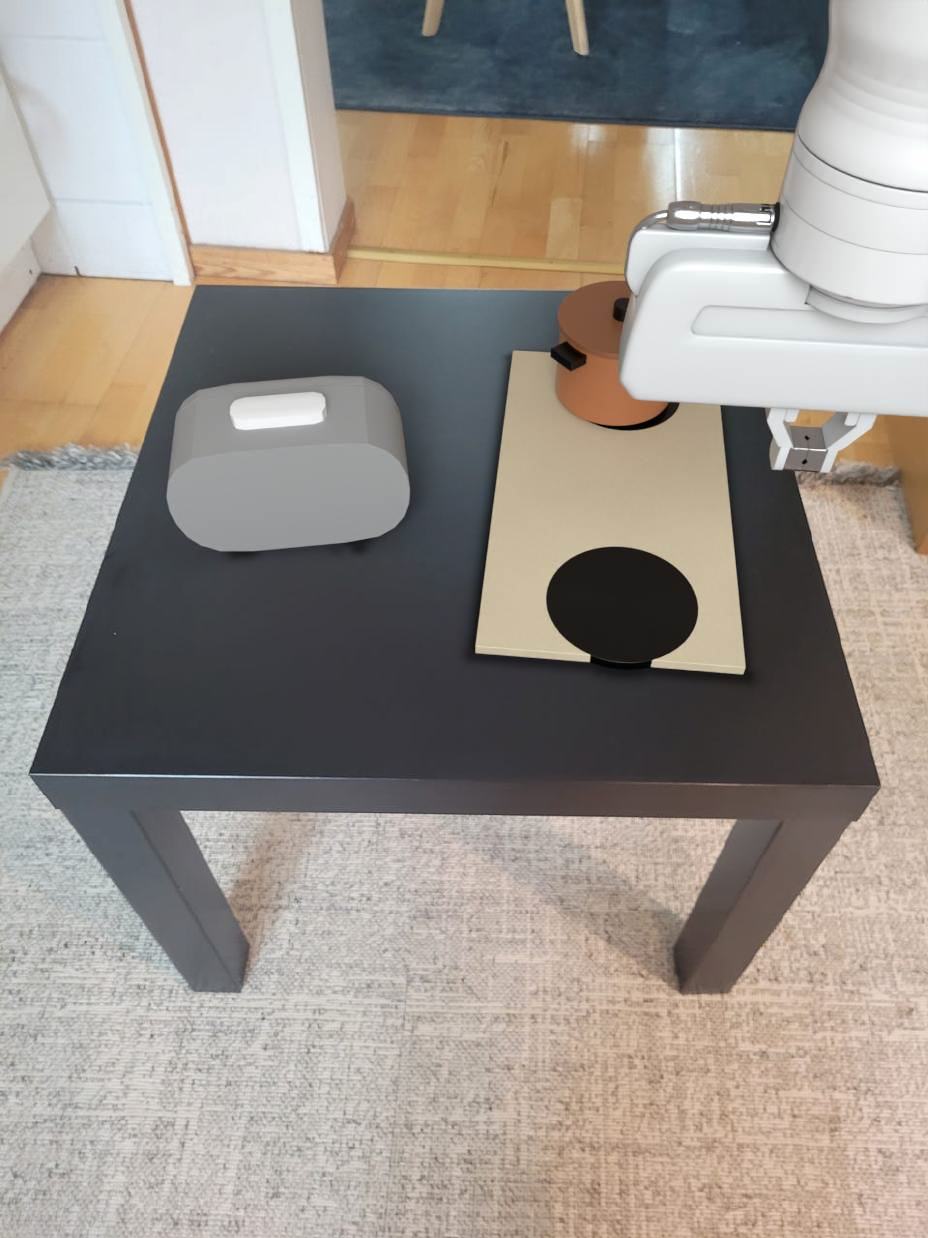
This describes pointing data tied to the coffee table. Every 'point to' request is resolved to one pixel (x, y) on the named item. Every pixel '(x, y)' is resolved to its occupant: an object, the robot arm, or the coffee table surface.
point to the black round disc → (622, 606)
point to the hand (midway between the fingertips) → (797, 463)
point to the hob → (606, 517)
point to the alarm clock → (288, 464)
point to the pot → (596, 357)
